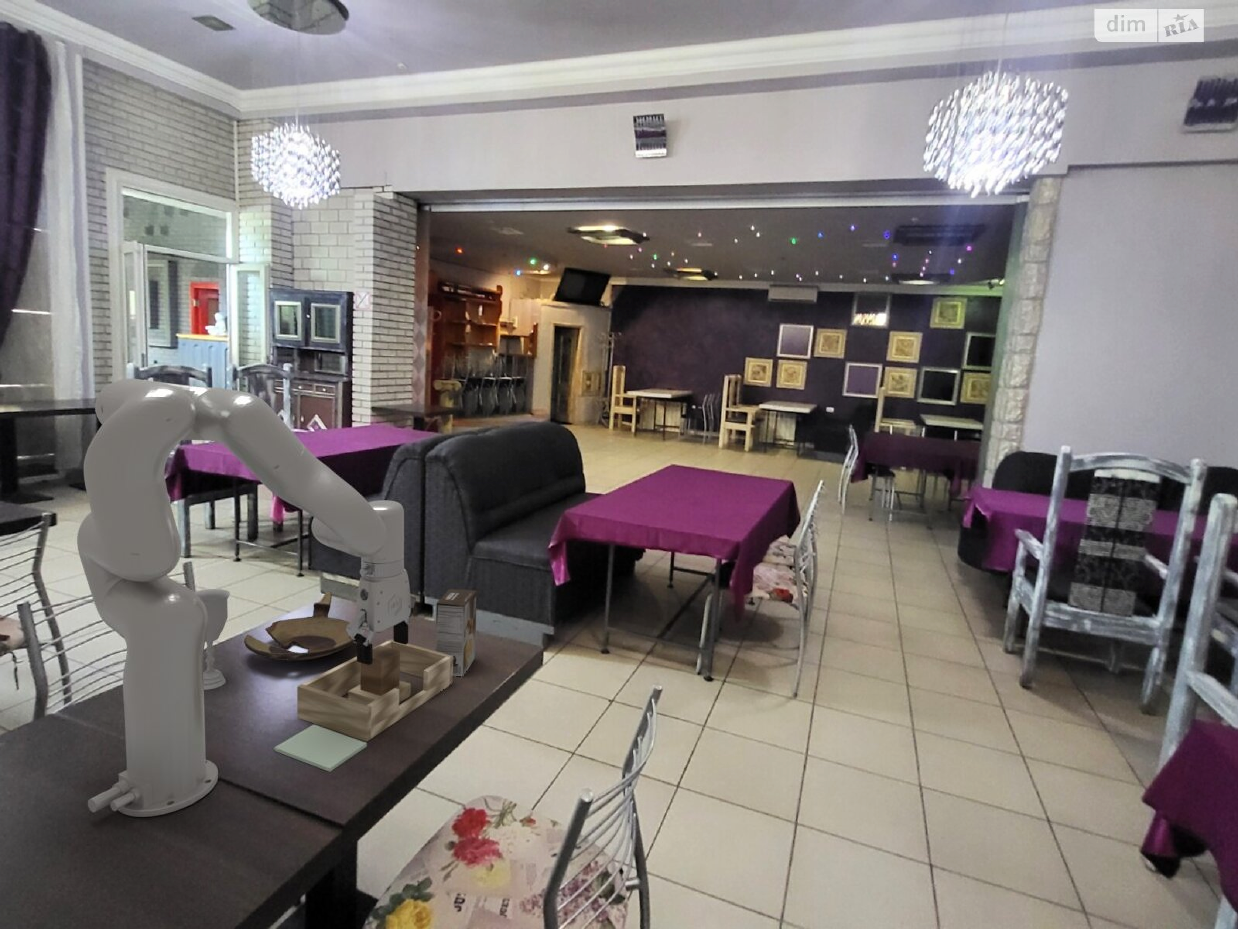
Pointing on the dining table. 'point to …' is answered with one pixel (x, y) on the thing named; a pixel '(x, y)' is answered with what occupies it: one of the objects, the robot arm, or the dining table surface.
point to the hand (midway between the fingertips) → (383, 652)
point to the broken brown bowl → (304, 635)
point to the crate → (364, 709)
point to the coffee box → (457, 628)
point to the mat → (321, 747)
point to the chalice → (213, 631)
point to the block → (381, 671)
